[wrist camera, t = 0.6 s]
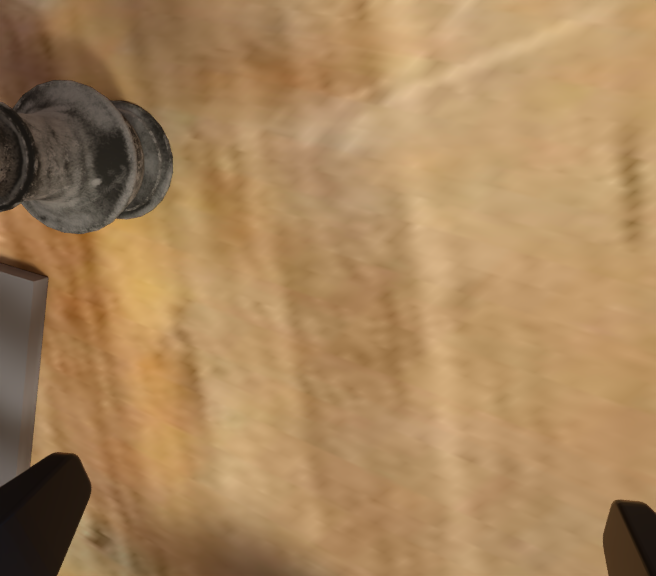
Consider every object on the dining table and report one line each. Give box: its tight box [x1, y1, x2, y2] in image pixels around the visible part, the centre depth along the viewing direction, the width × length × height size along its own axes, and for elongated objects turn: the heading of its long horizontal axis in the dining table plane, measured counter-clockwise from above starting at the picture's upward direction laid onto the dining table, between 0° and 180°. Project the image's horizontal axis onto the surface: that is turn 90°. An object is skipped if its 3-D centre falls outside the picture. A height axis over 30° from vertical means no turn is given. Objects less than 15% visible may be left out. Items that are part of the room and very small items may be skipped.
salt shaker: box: [0, 80, 173, 234], centre depth 18 cm, size 6×6×12 cm
